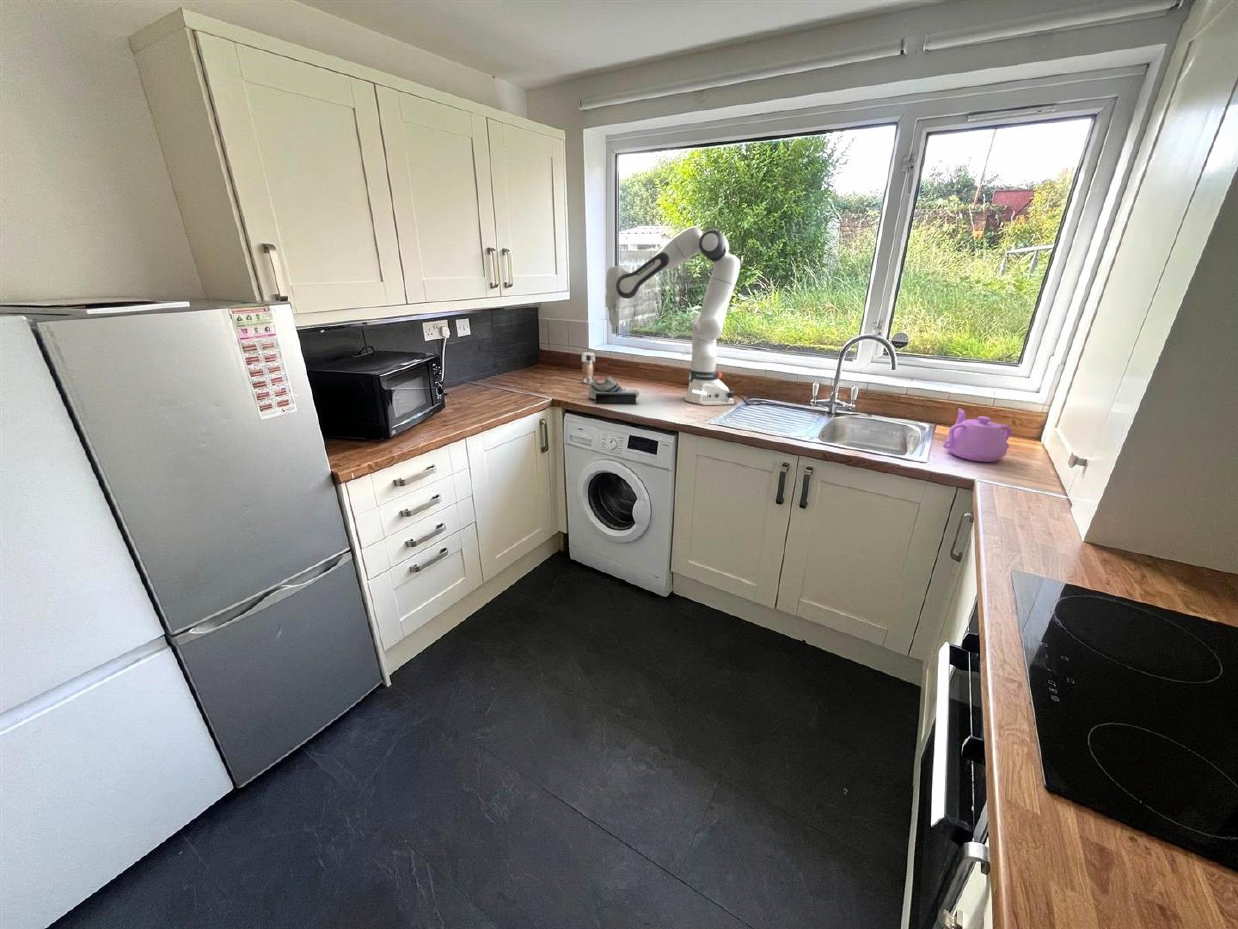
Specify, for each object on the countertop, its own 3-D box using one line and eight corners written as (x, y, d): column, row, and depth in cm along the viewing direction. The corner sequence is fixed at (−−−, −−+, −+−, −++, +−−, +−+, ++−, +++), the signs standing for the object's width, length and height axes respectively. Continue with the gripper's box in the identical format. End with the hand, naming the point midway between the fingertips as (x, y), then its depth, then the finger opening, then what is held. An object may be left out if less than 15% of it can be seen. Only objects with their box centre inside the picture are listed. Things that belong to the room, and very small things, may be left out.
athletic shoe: (638, 403, 222) (639, 375, 221) (587, 402, 223) (587, 375, 221) (638, 402, 232) (638, 376, 231) (589, 402, 233) (589, 376, 231)
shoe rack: (635, 403, 223) (636, 392, 221) (635, 404, 222) (636, 392, 220) (595, 402, 222) (595, 391, 220) (595, 403, 221) (595, 392, 219)
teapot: (977, 444, 183) (988, 407, 178) (1023, 465, 163) (1037, 425, 158) (918, 442, 182) (928, 406, 177) (957, 464, 162) (969, 423, 157)
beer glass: (597, 382, 263) (597, 353, 257) (591, 384, 257) (591, 355, 251) (585, 380, 265) (585, 352, 260) (579, 382, 259) (579, 353, 254)
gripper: (622, 304, 224) (621, 336, 229) (620, 302, 243) (619, 331, 248) (608, 304, 223) (608, 336, 228) (607, 301, 242) (606, 330, 247)
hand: (613, 333), depth 238 cm, fingers closed
